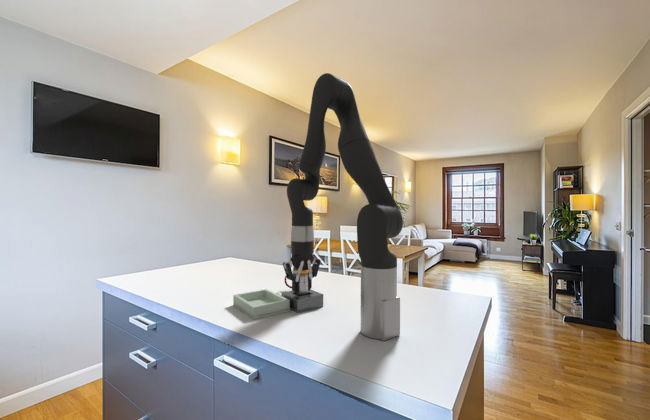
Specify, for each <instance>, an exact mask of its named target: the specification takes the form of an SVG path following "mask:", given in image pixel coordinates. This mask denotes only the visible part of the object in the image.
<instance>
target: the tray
mask: <svg viewBox="0 0 650 420" xmlns="http://www.w3.org/2000/svg"><path fill="white" fill-rule="evenodd" d="M232 301H233V303H232V305H233V306H234V307H236V308H237V309H239V310H240V312H241V311H242V313H244V314H245V315H247V316H248V317H250V318H251V319H252V320H256V319H261V318H265V317H268V316H274V315H277V314H282V313H286V312H290V311H291V309H290V300H289V299H286V298H284V297H282V296H281V294H280V295H279V294H278V293H275V292H273V291H272V290H269V289H267V288H266V289H260V290H259V289H258V290H253V291H247V292H243V293H237V294H233V300H232Z"/></svg>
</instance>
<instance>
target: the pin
mask: <svg viewBox="0 0 650 420" xmlns="http://www.w3.org/2000/svg"><path fill="white" fill-rule="evenodd" d="M295 271H296V272H297V271H298V270H296V269H295ZM308 273H310V269H309V270H308V269H306V270H302V271H300V274H301V275H300V276H299V281H298V282H299V293H296V295H297V296H299V297H301V296H305V295H308Z"/></svg>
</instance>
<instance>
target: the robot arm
mask: <svg viewBox="0 0 650 420" xmlns="http://www.w3.org/2000/svg"><path fill="white" fill-rule="evenodd" d="M310 101H311V103H310V108H309V109H310V110H309V117H308V123H307V124H308V125H307V133H306V137H305V142H304V147H303V148H302V149H303V150H302V154H301V156H300V160H299V163H298V169H299V170H300V171H301V172H303V173H304V174H305V175H304V178H292V179H290V181H288V183H287V186H286V195H287V200H288V204H289V208H290V211H291V230H290V254H291V257H290V260H289V261H284V262H282V266H283V269H284V274H285V276H286V277H287V278H286V280H290V281H291V286H292V287H293V288H291V290H292V289H293V291H294V292H295V293H299V282H298V281H299V276H300V275H301V274H300V271H302V270H306V269H308V270H309V269H310V273H308V291H310V290H312V288H313V287H312V284H313V283H312V282H313V281H312V279H313V278H316V277H317V276H318V272H319V269H320V265H321V262H322V261H321V259H319V258H314V252H315V249H314V247H315V246H314V244H315V241H314V239H315V234H314V233H315V232H314V231H315V230H314V212H313V210H312V208H310V207H307V206H306V204H305V201H313V200H314V199H315V198H316V197H317V195H318V193H319V189H320V177H321V175H320V173H321V168H322V165H323V160H324V158H325V156H326V151H327V150H326V149H327V142H326V141H327V140H326V134H325V119H326V114H327V111H328V109H329V110H332V111H333V112H334V114H335V116H336V118H337V121H338V123H339V127H340V129H339V130H340V131H339V135H338V139H337V150H338V153H339V154H338V155H339V156H340V160H341V162H342V165H343V168H344V169H345V171H346V172H347V175H349V177H351V179H352V180H353V181H354V183H355V184H356V185H357V187H359V188H360V190H361V191H362V192H363V194H364V196H365V198H366V199H367V204H365V205H364V206H362V208H360V210H359V212H358V215H357V219H356V235H357V236H356V240H357V253H358V256H359V258H360V332H361V334H362V335H363V336H365V337H367V338H370V339H376V340H381V341H383V342H384V341H385V342H386V341H388V340H390V339H392V338H395V337H399V336H400V335H401V297H400V296H398V258H397V255H396V254H394V253H392V252H391V251H390V250H389V246H388V245H389V244H388V239H389V240H390V239H392V238H393V239H394V238H396V237H397V236H399V235H400V234H401V231H402V230H403V225H404V221H403V214H402V213H401V210H400V208H399V206H398V204H397V202H396V200H395V199H394V196H393V195H392V193H391V191H390V189H389V186H388V185H387V182H386V180H385V177H384V175H383V172H382V170H381V167H380V165H379V163H378V160H377V157H376V153H375V151H374V149H373V146H372V142H371V141H370V139H369V136H368V134H367V130H366V129H365V126H364V123H363V121H362V118H361V115H360V111H359V109H358V105H357V101H356V98H355V93H354V90H353V87H352V86H351V85H350V83H349V82H348V81H346V80H345V79H342V78H340V77H338V76H337V75H334V74H332V73H329V72H327V73H322V74H321V75H319V77H318V78H317V79H316V82H315V84H314V87H313V91H312V96H311V100H310ZM292 266H293V267H292ZM295 269H296V270H298V271H297V272H296V271H295Z"/></svg>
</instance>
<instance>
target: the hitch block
mask: <svg viewBox="0 0 650 420" xmlns="http://www.w3.org/2000/svg"><path fill="white" fill-rule="evenodd" d="M280 296H282V297H284V298H286V299H289V300H290V311H293V312H295V313H297V314H298V313H302V312H307V311H311V310H314V309H315V310H316V309H319V308H323V307H324V293H321V292H319V291H315V290H314V289H313V290H312V289H311V290H310V291H308V295H305V296H301V297H299V296H297V295H296V293H295V292H294V291H292V290H287V291H282V292H281V294H280Z"/></svg>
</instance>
